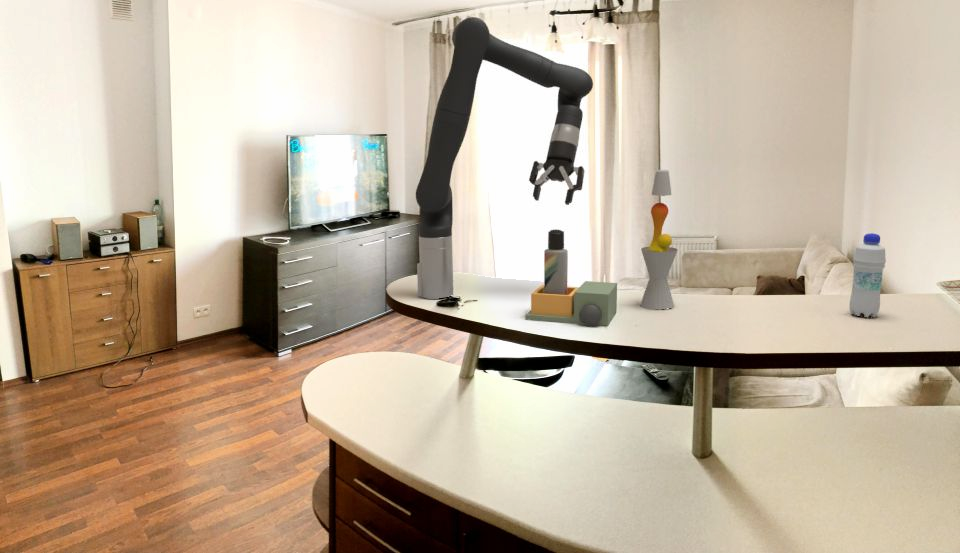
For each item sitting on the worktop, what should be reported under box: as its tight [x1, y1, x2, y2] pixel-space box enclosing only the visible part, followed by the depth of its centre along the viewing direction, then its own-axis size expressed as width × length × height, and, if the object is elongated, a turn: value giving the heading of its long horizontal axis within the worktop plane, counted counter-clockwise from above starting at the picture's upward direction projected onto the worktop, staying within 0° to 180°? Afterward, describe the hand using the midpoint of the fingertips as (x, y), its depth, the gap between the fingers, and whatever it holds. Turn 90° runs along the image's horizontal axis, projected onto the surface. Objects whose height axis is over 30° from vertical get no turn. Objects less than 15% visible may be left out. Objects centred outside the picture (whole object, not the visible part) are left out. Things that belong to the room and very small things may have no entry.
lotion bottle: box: [543, 229, 569, 295], centre depth 162 cm, size 6×6×20 cm
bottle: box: [849, 232, 887, 318], centre depth 156 cm, size 7×7×20 cm
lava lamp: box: [639, 169, 678, 310], centre depth 167 cm, size 9×9×35 cm
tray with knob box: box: [524, 280, 618, 328], centre depth 161 cm, size 20×16×8 cm
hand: (551, 202), depth 175 cm, fingers open, 8 cm apart
